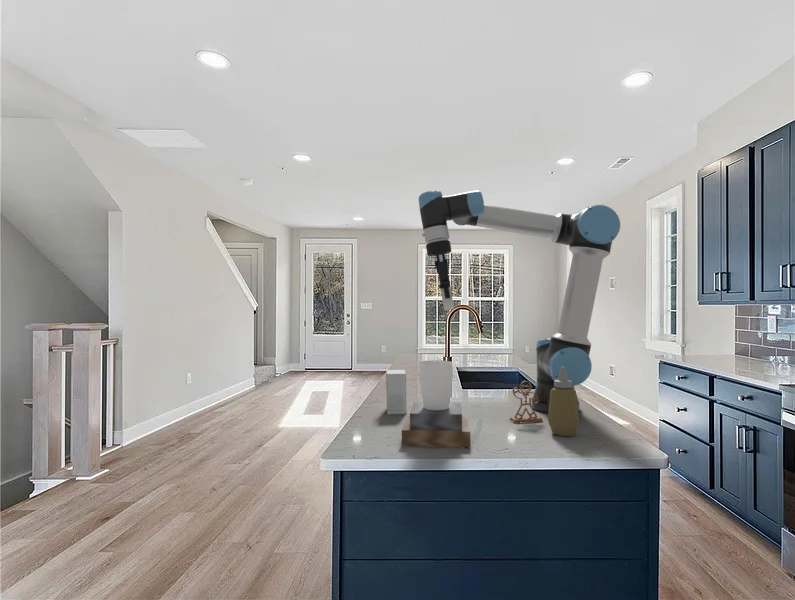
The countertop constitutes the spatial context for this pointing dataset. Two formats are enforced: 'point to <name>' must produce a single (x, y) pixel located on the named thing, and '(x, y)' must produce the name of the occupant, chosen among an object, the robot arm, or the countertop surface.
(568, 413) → the squeeze bottle
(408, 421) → the stepped display pedestal
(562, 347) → the robot arm
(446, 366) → the cup
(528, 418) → the gingerbread man figurine
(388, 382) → the small box
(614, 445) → the countertop surface
